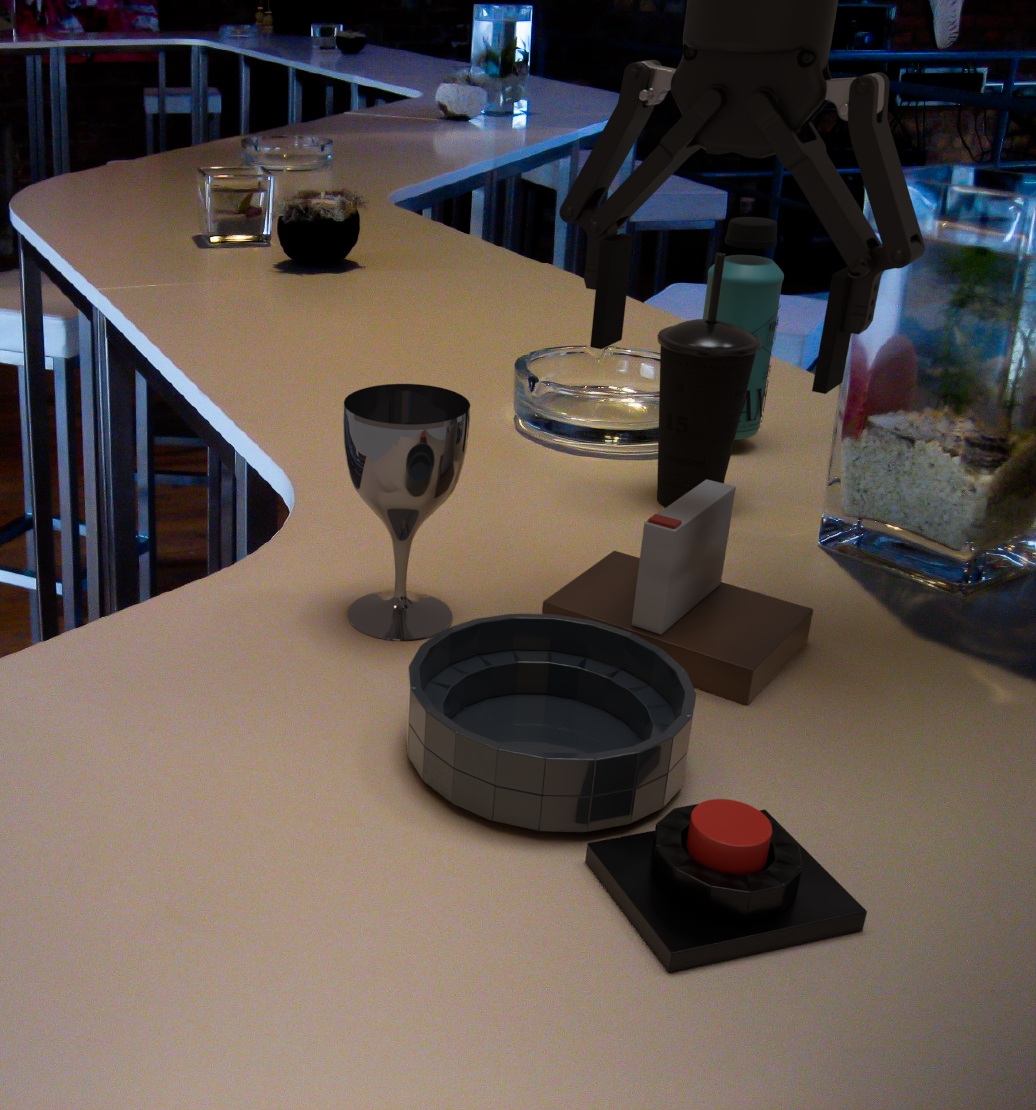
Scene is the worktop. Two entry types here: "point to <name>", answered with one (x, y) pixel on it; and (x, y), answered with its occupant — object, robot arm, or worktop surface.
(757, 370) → the beverage bottle
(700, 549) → the block
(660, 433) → the drinking cup
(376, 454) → the wine glass
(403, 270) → the worktop surface
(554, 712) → the basin
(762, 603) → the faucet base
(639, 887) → the switch
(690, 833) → the button
